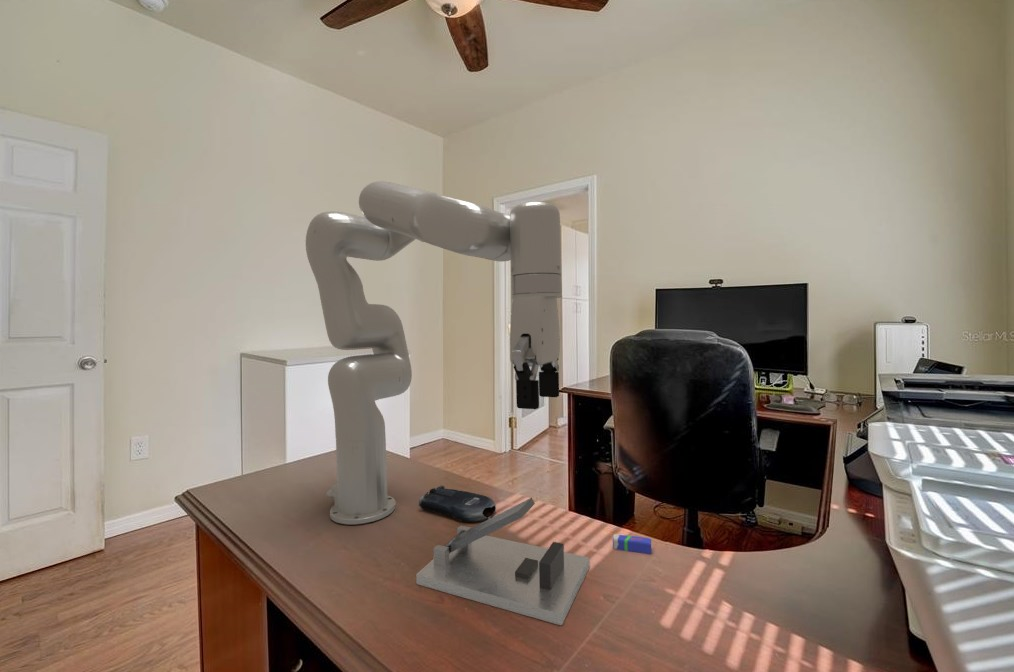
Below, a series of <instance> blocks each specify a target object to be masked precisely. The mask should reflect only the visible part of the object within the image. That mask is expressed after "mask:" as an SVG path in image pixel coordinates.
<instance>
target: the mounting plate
mask: <svg viewBox="0 0 1014 672" xmlns="http://www.w3.org/2000/svg"><path fill="white" fill-rule="evenodd" d="M470 528H472V527H470V526H465V525H459V526H458V527H457V529H456V535H457V534H458V533H462V532H464V531H466V530H468V529H470ZM564 548H565V545H564V543H562V542H558V541H552V543H551V545H550V546H549V547H548V548H547V547H542V546H539V545H538V546H537V545H534V544H528V543H523V542H519V541H513V540H510V539H504V538H499V537H495V536H490V535H486V536H483V537H481V538H479V539H477V540H475V541H473V542H471V543H469V544H467V545H465V546H463V547H461V548H459V549H457V550H455V551H453V552H451V553H450V554H449V547H445V546H444V545H441V544H437V545H435V546H434V548H433V559H432V560H430V562H428V563H427V564H426V565H425V566H424V567H422V568H421V569H420V570H419V571H418V572H417V573H416V575H415V576H416V585H418V586H421V587H426V588H428V589H432V590H434V591H438V592H439V591H440V592H442V593H446V594H449V595H454V596H457V597H459V598H464V599H467V600H471V601H474V602H478V603H481V604H485V605H487V606H491V607H495V608H499V609H501V610H505V611H509V612H512V613H516V614H519V615H523V616H525V617H526V616H527V617H530V618H533V619H537V620H540V621H543V622H547V623H551V624H555V625H557V626H563V625H564V622H565V620H566V618H567V615H568V613H569V611H570V609H571V608H572V606H573V603H574V601H575V598H576V596H577V595H578V593H579V591H580V588H581V586H582V584H583V582H584V580H585V577H586V575H587V573H588V571H589V569H590V566H591V565H590V556H585V555H580V554H577V553H575V554H574V553H570V552H565V549H564Z"/></svg>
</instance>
